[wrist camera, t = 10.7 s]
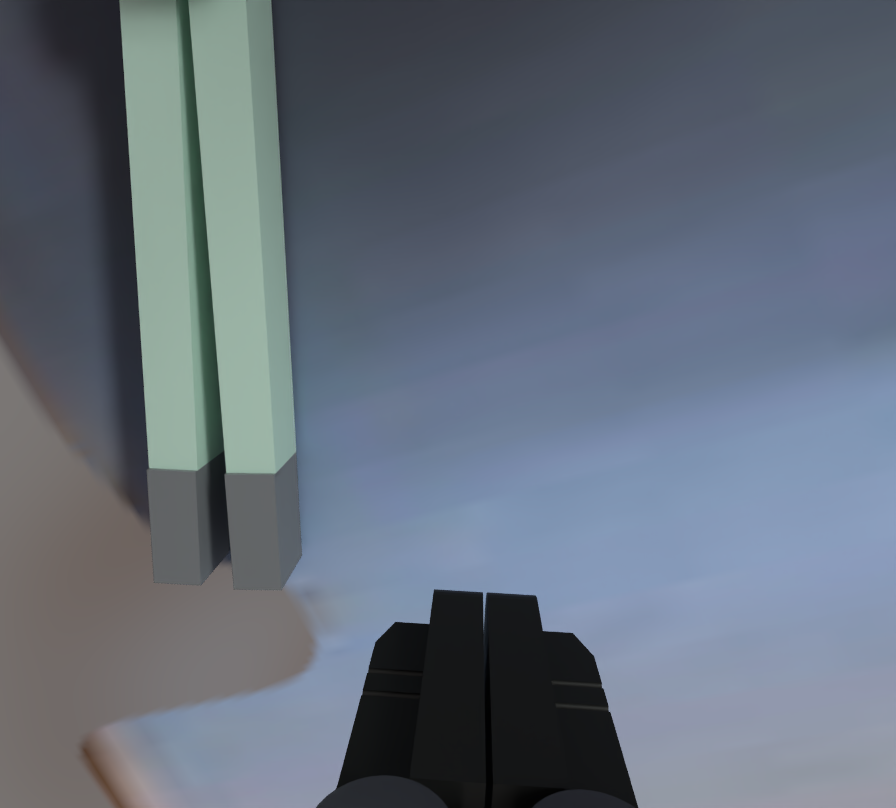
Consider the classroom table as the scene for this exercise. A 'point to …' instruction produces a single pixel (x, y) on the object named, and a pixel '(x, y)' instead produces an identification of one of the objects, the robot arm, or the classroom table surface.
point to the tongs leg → (174, 295)
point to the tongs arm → (248, 284)
